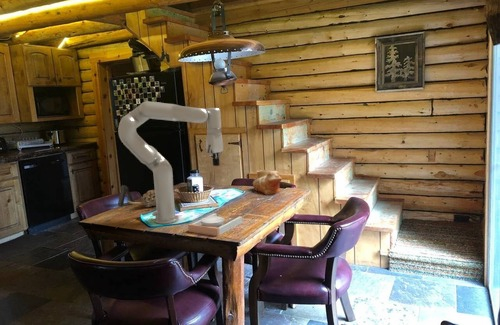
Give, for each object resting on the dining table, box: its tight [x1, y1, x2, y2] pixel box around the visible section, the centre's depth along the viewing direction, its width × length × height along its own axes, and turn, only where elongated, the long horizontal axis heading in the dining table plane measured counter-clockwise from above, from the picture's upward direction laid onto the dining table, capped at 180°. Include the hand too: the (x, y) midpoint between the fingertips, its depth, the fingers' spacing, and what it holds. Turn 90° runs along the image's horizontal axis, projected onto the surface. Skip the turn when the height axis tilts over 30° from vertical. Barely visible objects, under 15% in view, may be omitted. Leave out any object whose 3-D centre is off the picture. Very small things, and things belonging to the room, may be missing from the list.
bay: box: [187, 212, 243, 237], centre depth 196 cm, size 17×22×4 cm
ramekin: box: [200, 215, 224, 228], centre depth 192 cm, size 11×11×5 cm
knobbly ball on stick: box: [126, 189, 156, 208], centre depth 238 cm, size 22×10×10 cm, turn 130°
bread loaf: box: [252, 169, 283, 196], centre depth 267 cm, size 14×26×15 cm, turn 30°
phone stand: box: [117, 184, 135, 208], centre depth 248 cm, size 9×6×12 cm, turn 123°
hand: (216, 165), depth 214 cm, fingers closed
